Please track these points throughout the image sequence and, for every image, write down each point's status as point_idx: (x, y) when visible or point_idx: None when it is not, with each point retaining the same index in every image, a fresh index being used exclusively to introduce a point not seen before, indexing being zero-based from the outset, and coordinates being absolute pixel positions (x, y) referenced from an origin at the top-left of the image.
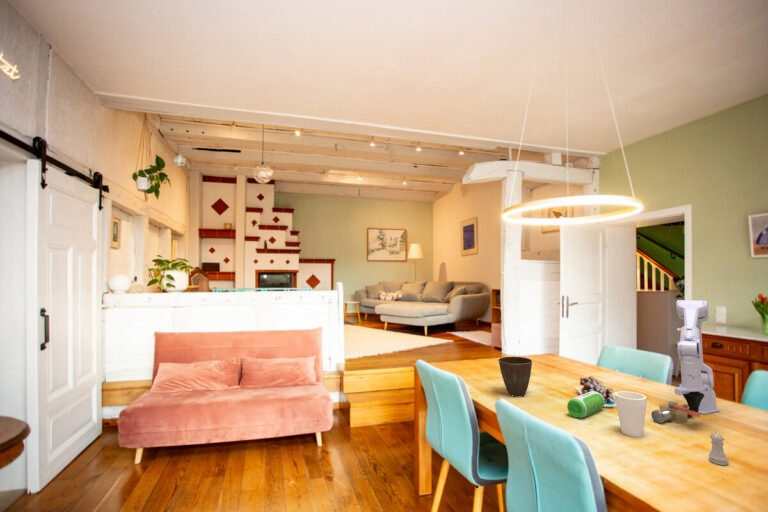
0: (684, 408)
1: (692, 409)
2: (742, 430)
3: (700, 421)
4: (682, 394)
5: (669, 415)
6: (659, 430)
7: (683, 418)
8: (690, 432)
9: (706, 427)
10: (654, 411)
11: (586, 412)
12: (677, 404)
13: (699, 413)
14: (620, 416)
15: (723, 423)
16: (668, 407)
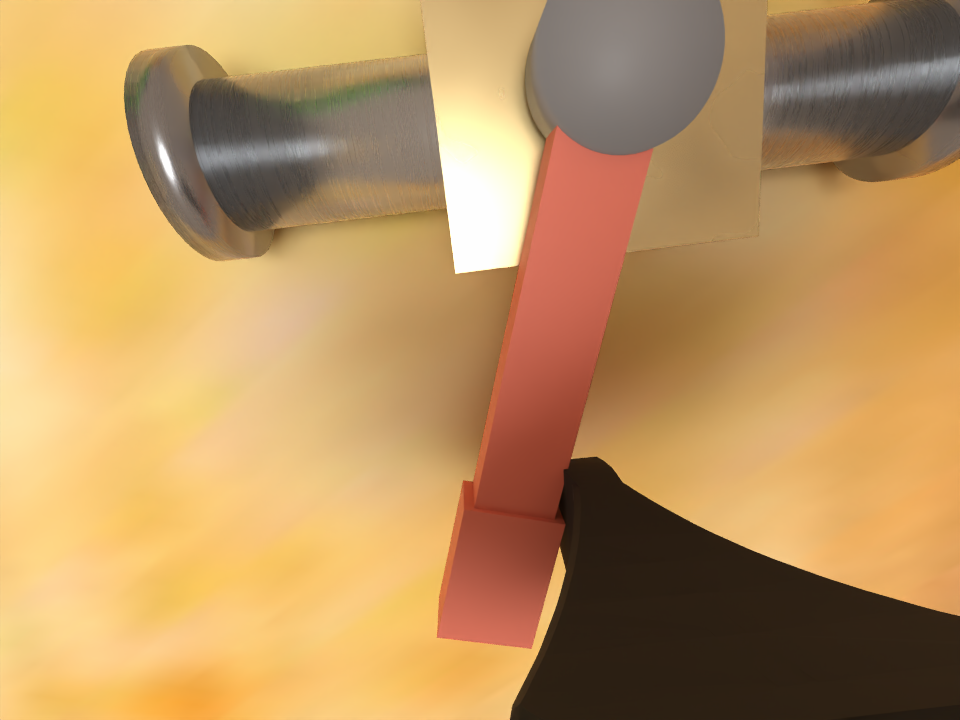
0: (536, 402)
1: (571, 530)
2: (878, 556)
3: (781, 283)
4: (518, 715)
5: (393, 209)
6: (92, 370)
7: None
8: (380, 487)
9: (658, 429)
10: (133, 101)
11: None
12: (644, 162)
13: (528, 647)
14: None
15: (930, 392)
16: (470, 96)
